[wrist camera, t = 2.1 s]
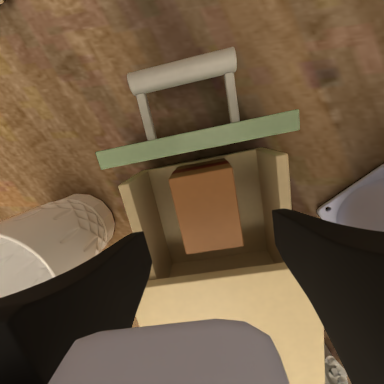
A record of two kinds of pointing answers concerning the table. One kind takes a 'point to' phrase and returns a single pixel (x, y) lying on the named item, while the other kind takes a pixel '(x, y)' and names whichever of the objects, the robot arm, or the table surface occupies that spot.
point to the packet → (206, 206)
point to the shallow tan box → (246, 311)
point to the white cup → (51, 240)
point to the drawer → (197, 140)
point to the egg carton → (333, 370)
